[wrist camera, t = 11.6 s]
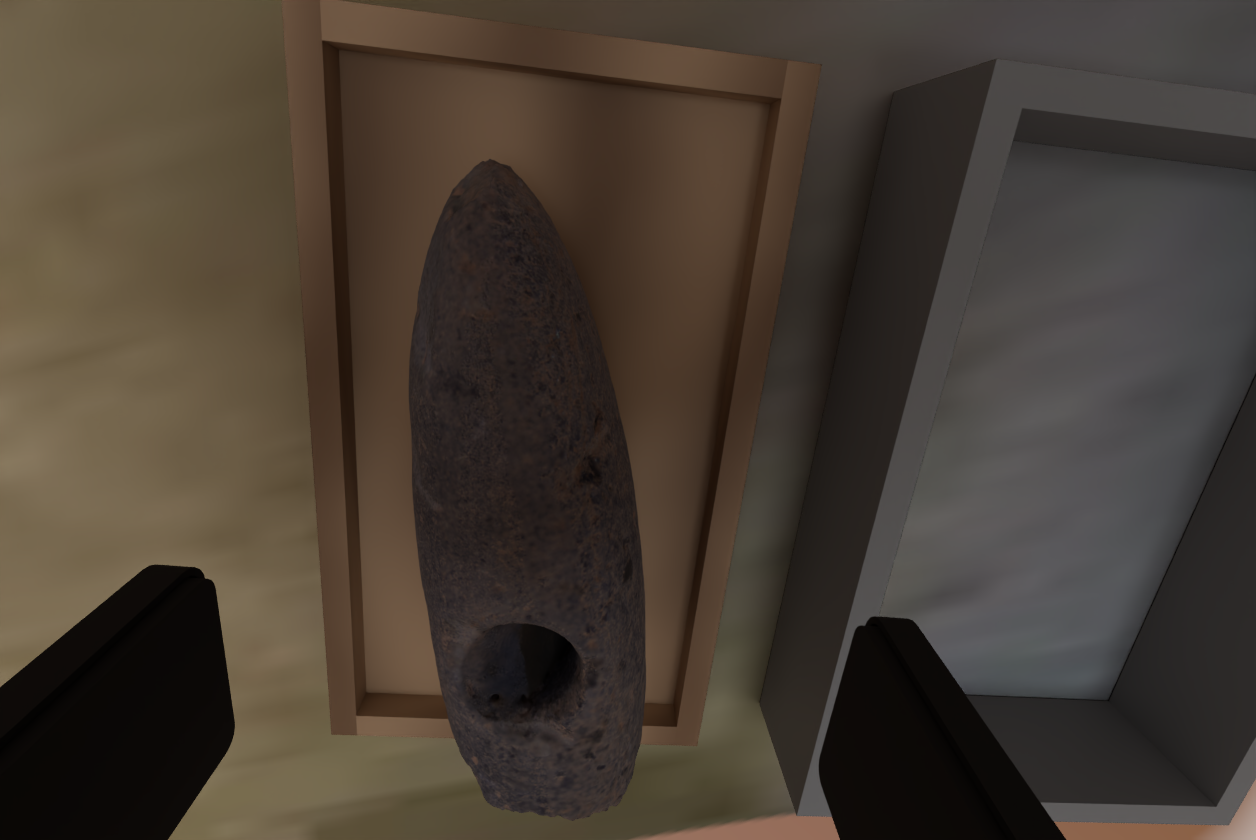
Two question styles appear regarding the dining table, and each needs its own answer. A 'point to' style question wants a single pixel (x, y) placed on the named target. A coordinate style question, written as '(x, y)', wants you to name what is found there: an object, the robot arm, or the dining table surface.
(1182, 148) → the charcoal bin
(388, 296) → the walnut tray
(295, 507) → the dining table surface
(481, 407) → the perforated stone tool
